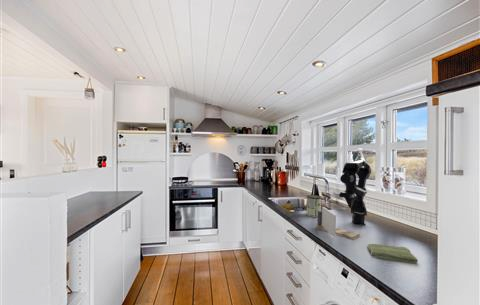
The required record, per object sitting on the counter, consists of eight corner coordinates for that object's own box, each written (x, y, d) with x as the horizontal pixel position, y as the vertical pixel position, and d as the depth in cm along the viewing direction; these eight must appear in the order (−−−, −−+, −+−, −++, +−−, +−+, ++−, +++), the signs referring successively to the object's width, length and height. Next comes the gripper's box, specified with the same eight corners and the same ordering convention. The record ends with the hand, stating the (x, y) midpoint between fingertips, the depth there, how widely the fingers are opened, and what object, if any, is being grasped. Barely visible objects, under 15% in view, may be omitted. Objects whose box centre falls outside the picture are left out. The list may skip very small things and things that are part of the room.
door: (336, 236, 119) (336, 215, 119) (333, 236, 119) (334, 215, 119) (323, 224, 139) (323, 206, 139) (320, 224, 139) (321, 206, 139)
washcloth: (366, 246, 112) (366, 240, 112) (408, 253, 106) (408, 246, 106) (371, 258, 100) (371, 251, 100) (419, 266, 94) (419, 258, 94)
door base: (359, 236, 126) (360, 218, 126) (353, 239, 120) (354, 221, 120) (321, 225, 143) (322, 209, 143) (314, 227, 138) (315, 211, 138)
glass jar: (308, 212, 174) (308, 194, 174) (322, 214, 169) (322, 196, 169) (304, 215, 165) (305, 196, 165) (318, 217, 160) (319, 198, 160)
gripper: (358, 185, 126) (357, 213, 126) (371, 183, 138) (370, 208, 138) (339, 182, 134) (338, 208, 134) (352, 181, 146) (351, 204, 146)
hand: (350, 207), depth 138 cm, fingers closed
